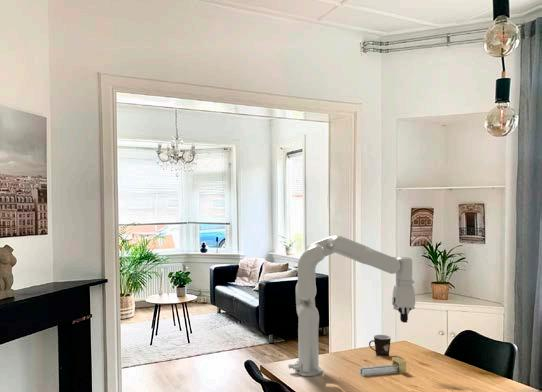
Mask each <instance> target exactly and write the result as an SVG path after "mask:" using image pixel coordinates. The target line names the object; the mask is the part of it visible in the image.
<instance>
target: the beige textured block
mask: <svg viewBox="0 0 542 392" xmlns="http://www.w3.org/2000/svg"><path fill="white" fill-rule="evenodd" d="M397 363H399V373H398V374H400V375H404V374H407V361H405V360H404V359H402V358H400V357H399V356H392V357H391V365H394V364H397Z"/></svg>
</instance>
